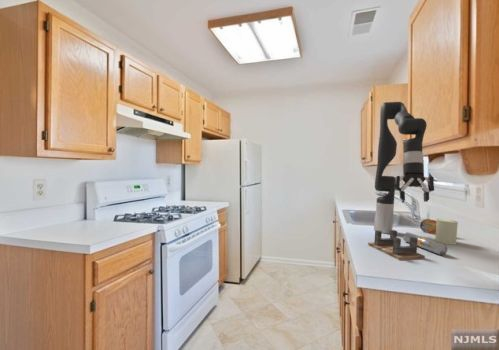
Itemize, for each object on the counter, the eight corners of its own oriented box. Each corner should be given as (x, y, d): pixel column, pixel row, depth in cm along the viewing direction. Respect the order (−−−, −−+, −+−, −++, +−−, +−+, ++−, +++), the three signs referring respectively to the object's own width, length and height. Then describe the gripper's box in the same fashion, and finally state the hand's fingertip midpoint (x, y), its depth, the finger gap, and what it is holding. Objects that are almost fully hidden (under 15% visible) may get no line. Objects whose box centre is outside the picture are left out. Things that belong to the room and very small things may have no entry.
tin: (419, 231, 161) (420, 217, 161) (421, 230, 163) (422, 217, 162) (448, 237, 149) (449, 223, 148) (450, 237, 150) (451, 222, 150)
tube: (402, 242, 137) (403, 232, 137) (411, 241, 138) (412, 232, 138) (437, 255, 118) (438, 244, 117) (447, 255, 119) (448, 244, 118)
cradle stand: (367, 245, 131) (368, 229, 130) (390, 244, 133) (391, 228, 133) (398, 260, 111) (399, 241, 111) (424, 258, 114) (425, 240, 113)
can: (457, 245, 134) (459, 222, 133) (435, 242, 139) (437, 219, 138) (455, 241, 142) (456, 219, 141) (434, 238, 147) (435, 216, 146)
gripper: (428, 165, 116) (429, 202, 113) (392, 164, 119) (393, 200, 116) (435, 161, 108) (437, 201, 106) (397, 161, 112) (398, 199, 109)
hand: (414, 201), depth 111 cm, fingers open, 8 cm apart
